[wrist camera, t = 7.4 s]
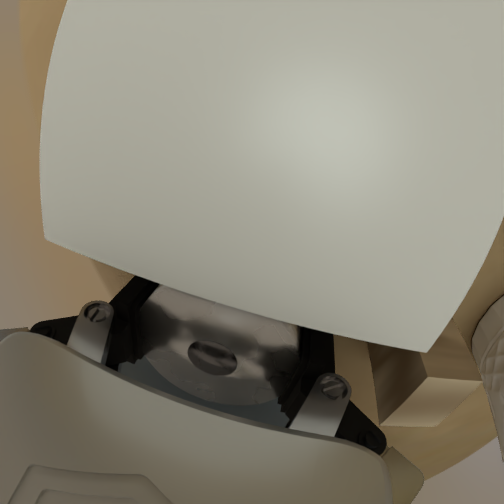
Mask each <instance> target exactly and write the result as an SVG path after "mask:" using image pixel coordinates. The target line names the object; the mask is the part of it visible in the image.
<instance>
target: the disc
mask: <svg viewBox="0 0 504 504" xmlns="http://www.w3.org/2000/svg"><path fill="white" fill-rule="evenodd" d="M139 315H140V330H141V343H142V351H143V353H144V355H145V356H146V358H147V359H148V361H149V362H150V363H151V365H152V366H153V367H154V368H155V369H156V370H157V371H158V372H159V373H160V374H161V375H162V376H163V377H164V378H166V379H167V380H168V381H169V382H171V383H172V384H174V385H175V386H177V387H178V388H180V389H182V390H183V391H185V392H187V393H189V394H191V395H194V396H196V397H199V398H201V399H204V400H207V401H211V402H215V403H219V404H225V405H237V406H244V405H255V404H260V403H265V402H268V401H270V400H273V399H275V398H277V397H279V396H281V394H282V393H283V391H284V389H285V387H286V386H287V384H288V382H289V380H290V378H291V377H292V375H293V373H294V371H295V369H296V367H297V366H298V364H299V362H300V352H301V339H302V326H299V325H295V324H291V323H288V322H284V321H280V320H276V319H273V318H269V317H265V316H262V315H258V314H255V313H251V312H248V311H244V310H241V309H237V308H234V307H231V306H227V305H224V304H221V303H218V302H214V301H211V300H208V299H205V298H202V297H198V296H195V295H192V294H189V293H186V292H183V291H180V290H177V289H174V288H171V287H168V286H165V285H162V284H159V286H158V287H157V288H156V289H155V290H154V292H153V293H152V294H151V295H150V297H149V298H148V299H147V300H146V301H145V303H144V304H143V305H142V307H141V308H140V310H139Z"/></svg>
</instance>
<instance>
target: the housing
mask: <svg viewBox="0 0 504 504" xmlns="http://www.w3.org/2000/svg"><path fill="white" fill-rule="evenodd" d="M40 192H41V207H42V218H43V227H44V235H45V239H46V240H48V241H51V242H53V243H56V244H58V245H60V246H62V247H65V248H67V249H70V250H72V251H74V252H77V253H79V254H82V255H84V256H87V257H89V258H92V259H94V260H97V261H99V262H102V263H105V264H107V265H110V266H112V267H115V268H118V269H120V270H123V271H126V272H128V273H131V274H134V275H137V276H139V277H142V278H145V279H148V280H151V281H154V282H156V283H159V284H162V285H165V286H168V287H171V288H174V289H177V290H180V291H183V292H186V293H189V294H192V295H195V296H198V297H202V298H205V299H208V300H211V301H214V302H218V303H221V304H224V305H227V306H231V307H234V308H237V309H241V310H244V311H248V312H251V313H255V314H258V315H262V316H265V317H269V318H273V319H276V320H280V321H284V322H288V323H291V324H295V325H299V326H303V327H307V328H311V329H315V330H319V331H323V332H327V333H332V334H336V335H340V336H345V337H349V338H353V339H358V340H363V341H367V342H372V343H377V344H382V345H387V346H392V347H397V348H402V349H408V350H413V351H419V352H425V353H427V352H428V350H429V349H430V348H431V347H432V345H433V344H434V342H435V341H436V340H437V338H438V337H439V336H440V334H441V333H442V331H443V330H444V328H445V327H446V325H447V324H448V322H449V321H450V319H451V318H452V316H453V315H454V313H455V312H456V310H457V309H458V307H459V305H460V304H461V302H462V300H463V299H464V297H465V295H466V294H467V292H468V290H469V288H470V287H471V285H472V283H473V281H474V280H475V278H476V276H477V274H478V272H479V270H480V268H481V266H482V264H483V262H484V260H485V258H486V256H487V254H488V252H489V250H490V248H491V245H492V243H493V241H494V239H495V236H496V234H497V232H498V229H499V227H500V224H501V222H502V219H503V217H504V0H68V1H67V4H66V7H65V9H64V12H63V15H62V19H61V22H60V25H59V28H58V32H57V35H56V39H55V43H54V47H53V51H52V55H51V60H50V65H49V70H48V75H47V81H46V87H45V94H44V102H43V110H42V121H41V136H40Z"/></svg>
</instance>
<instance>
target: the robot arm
mask: <svg viewBox="0 0 504 504" xmlns="http://www.w3.org/2000/svg"><path fill="white" fill-rule="evenodd" d="M158 286H159V283H156V282H154V281H151V280H148V279H145V278H142V277H139V276H137V275H135V276H134V277H133V278H132V279H131V281H130V282H129V283H128V284H127V285H126V286H125V287H124V288H123V289H122V290H121V291H120V292H119V293H118V294H117V295H116V296H115V297H114V298H113V299H112V300H111V301H110V302H109V303H107V302H104V301H91V302H89V303H87V304H85V305H84V306H83V307H82V309H81V311H80V313H79V315H78V316H72V317H66V318H60V319H53V320H46V321H41V322H38V323H36V324H35V325H34V326H33V327H32V328H31V330H29V329H28V327H24V328H15V329H3V330H0V504H411V502H412V501H413V500H414V498H415V497H416V496H417V494H418V493H419V491H420V490H421V488H422V486H423V484H424V476H423V473H422V472H421V471H420V469H418V468H417V467H416V466H415V465H414V464H412V463H411V462H410V461H409V460H408V459H406V458H405V457H404V456H403V455H402V454H401V453H399V452H398V451H397V450H396V449H395V448H394V447H393V446H392V447H390V448H389V447H388V446H387V442H386V437H385V435H384V434H383V432H382V431H381V430H380V429H379V428H378V427H377V426H376V425H375V424H374V423H373V422H372V421H371V420H370V419H369V418H368V417H367V416H366V415H364V414H363V413H362V412H361V411H360V410H359V409H358V408H357V407H356V406H355V405H354V404H353V403H352V402H351V401H350V400H349V399H350V396H351V387H350V385H349V383H348V382H347V381H346V379H345V378H343V377H342V376H340V375H338V374H335V361H334V341H333V334H332V333H327V332H323V331H319V330H315V329H311V328H307V327H303V326H302V339H301V352H300V362H299V364H298V366H297V367H296V369H295V371H294V373H293V375H292V377H291V378H290V380H289V382H288V384H287V386H286V387H285V389H284V391H283V393H282V394H281V396H279V397H278V402H277V404H280V405H281V411H280V412H283V413H285V415H286V416H287V417H288V418H289V420H288V422H287V424H286V425H285V427H280V426H275V425H271V424H266V423H262V422H258V421H253V420H249V419H246V418H242V417H238V416H234V415H231V414H227V413H224V412H221V411H217V410H214V409H211V408H208V407H204V406H201V405H198V404H195V403H192V402H190V401H187V400H184V399H181V398H178V397H176V396H173V395H170V394H168V393H165V392H163V391H160V390H158V389H155V388H153V387H150V386H148V385H146V384H143V383H141V382H139V381H136V380H134V379H132V378H130V377H127V376H125V375H123V374H121V367H122V363H124V362H126V361H127V362H130V363H132V364H135V363H136V361H137V360H138V359H140V360H141V359H142V358H143V357H144V353H143V351H142V343H141V330H140V315H139V310H140V308H141V307H142V305H143V304H144V303H145V301H146V300H147V299H148V298H149V297H150V295H151V294H152V293H153V292H154V290H155V289H156V288H157V287H158Z"/></svg>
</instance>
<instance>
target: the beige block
mask: <svg viewBox="0 0 504 504" xmlns="http://www.w3.org/2000/svg"><path fill="white" fill-rule="evenodd" d="M368 349H369V355H370V360H371V366H372V373H373V379H374V386H375V393H376V401H377V409H378V417H379V425H382V426H412V427H422V426H436V425H438V424H439V423H440V422H441V421H442V420H444V419H445V418H446V417H447V416H448V415H449V414H450V413H451V412H453V411H454V410H455V409H456V408H457V407H458V406H459V405H460V404H461V403H462V402H463V401H464V400H465V399H466V398H467V397H468V396H469V395H470V394H471V393H472V392H473V391H474V390H475V389H476V388H477V387H478V386H479V385H480V384H481V383H482V382H483V380H482V378H481V375H480V373H479V371H478V369H477V366H476V364H475V362H474V360H473V358H472V356H471V353H470V351H469V349H468V347H467V345H466V343H465V341H464V339H463V337H462V335H461V333H460V332H459V330H458V328H457V326H456V324H455V322H454V320H453V319H452V318H451V319H450V321H449V322H448V324H447V325H446V327H445V328H444V330H443V331H442V333H441V334H440V336H439V337H438V338H437V340H436V341H435V342H434V344H433V345H432V347H431V348H430V349H429V350H428V352H427V353H425V352H419V351H413V350H408V349H402V348H397V347H392V346H387V345H382V344H377V343H372V342H369V344H368Z"/></svg>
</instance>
